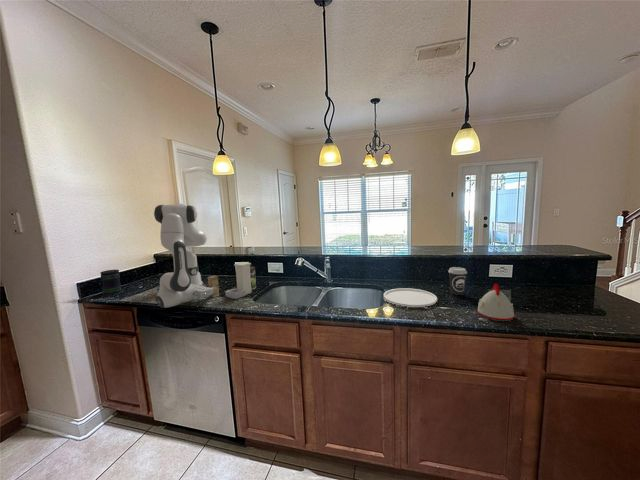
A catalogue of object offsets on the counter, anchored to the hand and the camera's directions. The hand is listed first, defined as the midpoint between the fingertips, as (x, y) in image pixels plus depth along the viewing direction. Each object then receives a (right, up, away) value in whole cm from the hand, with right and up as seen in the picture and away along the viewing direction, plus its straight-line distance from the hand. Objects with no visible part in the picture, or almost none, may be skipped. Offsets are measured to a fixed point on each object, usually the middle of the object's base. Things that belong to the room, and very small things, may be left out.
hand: (210, 286), depth 160 cm
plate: (+116, -5, -15) cm, 117 cm away
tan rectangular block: (+2, -6, +3) cm, 7 cm away
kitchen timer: (+147, -7, -39) cm, 152 cm away
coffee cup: (+146, -3, -9) cm, 146 cm away
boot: (+17, -6, +2) cm, 18 cm away
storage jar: (-71, -7, +15) cm, 73 cm away
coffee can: (+19, -4, +16) cm, 25 cm away
